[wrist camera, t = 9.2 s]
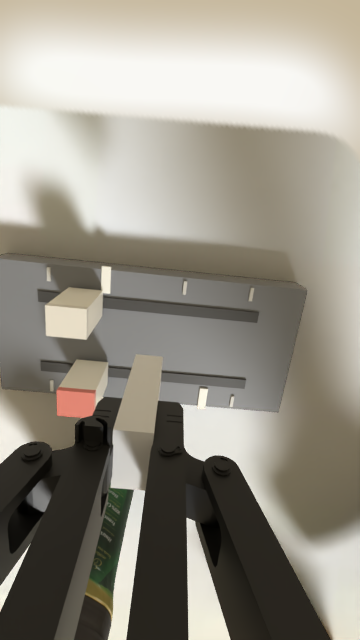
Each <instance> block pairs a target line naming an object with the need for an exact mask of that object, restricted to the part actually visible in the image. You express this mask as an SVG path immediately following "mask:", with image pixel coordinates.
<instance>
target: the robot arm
mask: <svg viewBox="0 0 360 640" xmlns="http://www.w3.org/2000/svg"><path fill="white" fill-rule="evenodd" d="M162 361H163V357H160V356H149V355H138V354H136V356H135V359H134V362H133V366H132V369H131V372H130V375H129V379H128V382H127V385H126V389H125V392H124V395H123V398H115V397H104V398H103V399H101V400H100V401H99V402H98V403H97V405H96V408H95V411H94V412H93V415H92V416H88V417H84V418H82V419H81V420H79V421H78V422H77V423H76V424H75V445H74V446H72V447H70V448H67V449H62V450H55V451H52V448H51V447H50V446H49V445H48V444H46V443H44V442H30V443H27V444H24V445H22V446H20V447H19V448H17V449H16V450H15V451H14V452H13V453H12V454H11V455H10V456H9V457H8V458H6V459H5V460H4V461H3V462H2V463H1V464H0V585H1V584H2V583H3V581H4V580H5V578H6V577H7V576H8V574H9V573H10V571H11V570H12V569H13V567H14V566H15V564H16V563H17V562H18V560H19V559H20V557H21V556H22V555H23V553H24V552H25V550H26V549H27V548H28V546H29V545H30V546H29V548H28V551H27V553H26V555H25V557H24V560H23V562H22V564H21V567H20V569H19V571H18V573H17V576H16V578H15V580H14V582H13V585H12V587H11V589H10V591H9V594H8V596H7V598H6V600H5V603H4V605H3V607H2V609H1V612H0V640H74V637H75V633H76V629H77V625H78V621H79V617H80V613H81V609H82V604H83V600H84V596H85V592H86V588H87V584H88V580H89V576H90V572H91V568H92V564H93V560H94V555H95V551H96V547H97V543H98V539H99V535H100V531H101V527H102V523H103V519H104V515H105V510H106V506H107V502H108V491H109V486H110V482H111V488H120V489H132V490H145V498H144V506H143V514H142V522H141V530H140V538H139V545H138V553H137V561H136V569H135V577H134V585H133V592H132V600H131V608H130V616H129V624H128V632H127V640H188V590H187V527H186V517H187V518H189V519H192V520H194V521H195V522H196V528H197V531H198V534H199V537H200V541H201V544H202V547H203V550H204V554H205V557H206V560H207V564H208V567H209V570H210V573H211V577H212V580H213V583H214V586H215V590H216V593H217V596H218V600H219V603H220V606H221V609H222V613H223V616H224V619H225V622H226V626H227V629H228V632H229V636H230V639H231V640H330V638H329V636H328V634H327V632H326V630H325V628H324V627H323V625H322V623H321V621H320V619H319V617H318V615H317V613H316V612H315V610H314V608H313V606H312V604H311V602H310V600H309V598H308V597H307V595H306V593H305V591H304V589H303V587H302V585H301V583H300V581H299V580H298V578H297V576H296V574H295V572H294V570H293V568H292V566H291V565H290V563H289V561H288V559H287V557H286V555H285V553H284V551H283V550H282V548H281V546H280V544H279V542H278V540H277V538H276V536H275V534H274V533H273V531H272V529H271V527H270V525H269V523H268V521H267V519H266V518H265V516H264V514H263V512H262V510H261V508H260V506H259V504H258V503H257V501H256V499H255V497H254V495H253V493H252V491H251V489H250V487H249V486H248V484H247V482H246V480H245V478H244V476H243V474H242V472H241V471H240V469H239V467H238V466H237V464H236V463H235V462H234V461H233V460H231V459H229V458H227V457H224V456H212V457H209V458H208V459H207V460H205V462H204V461H201V460H198V459H196V458H193V457H192V456H190V455H189V454H188V453H187V452H186V450H185V448H184V436H183V408H182V407H181V405H180V404H179V402H169V401H159V393H160V383H161V372H162ZM30 543H31V544H30Z"/></svg>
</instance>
